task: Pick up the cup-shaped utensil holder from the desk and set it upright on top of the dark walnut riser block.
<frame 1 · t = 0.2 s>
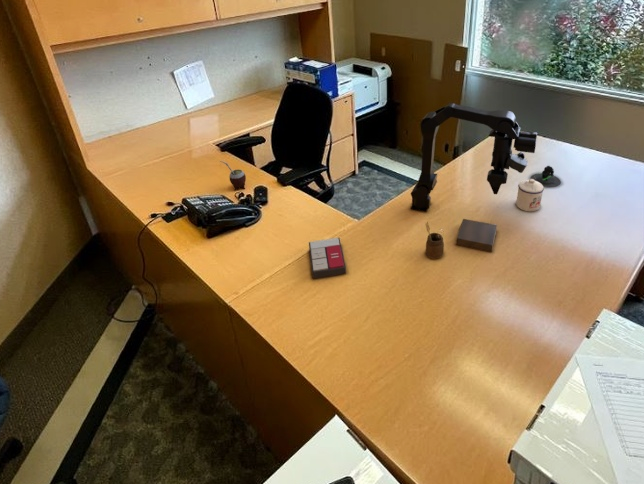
hand: (497, 187, 148), 15 cm above the table, tool pointing down, fingers open, 9 cm apart
teacup with lid: (529, 204, 163), on the table
dark grey hat: (545, 180, 178), on the table
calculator: (327, 261, 141), on the table
mate gourd: (238, 188, 189), on the table
utensil holder: (434, 253, 142), on the table
walnut riser: (476, 238, 147), on the table
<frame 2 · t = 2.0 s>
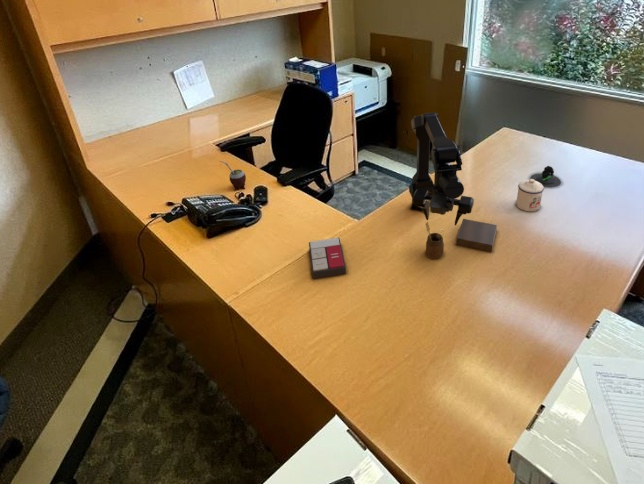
hand: (441, 222, 137), 12 cm above the table, tool pointing down, fingers open, 9 cm apart
nothing on the table moved.
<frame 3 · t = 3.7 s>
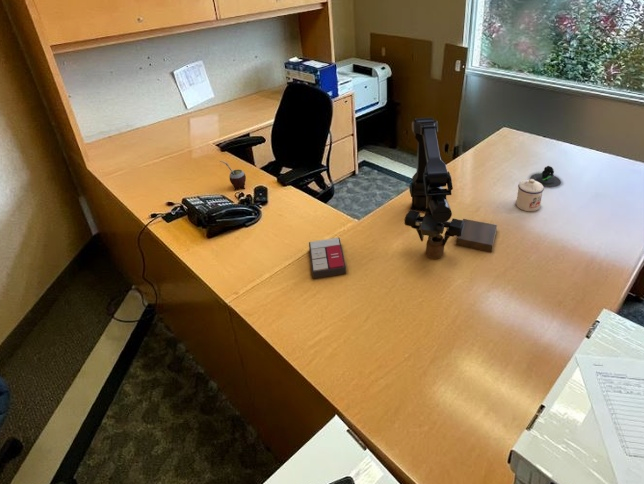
hand: (432, 243, 139), 5 cm above the table, tool pointing down, fingers closed on utensil holder, 7 cm apart
utensil holder: (434, 253, 141), on the table, touching gripper
everything else where it was.
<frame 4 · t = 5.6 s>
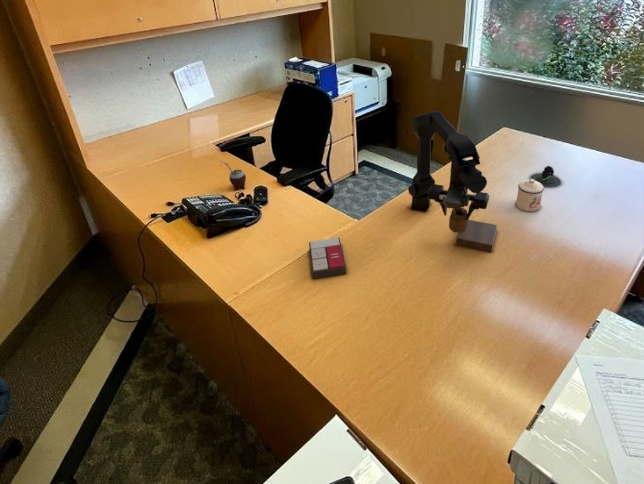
hand: (456, 217, 138), 12 cm above the table, tool pointing down, fingers closed on utensil holder, 7 cm apart
utensil holder: (457, 228, 140), point 8 cm above the table, touching gripper
everything else where it was.
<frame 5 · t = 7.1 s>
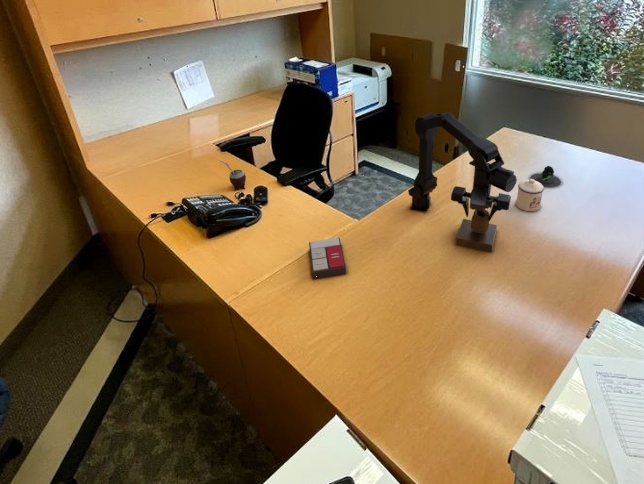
hand: (478, 218, 143), 9 cm above the table, tool pointing down, fingers closed on utensil holder, 7 cm apart
utensil holder: (478, 228, 145), point 4 cm above the table, touching gripper
everything else where it was.
when the fingers open (8 cm above the table, at t = 7.9 s): utensil holder stays where it is, resting on walnut riser.
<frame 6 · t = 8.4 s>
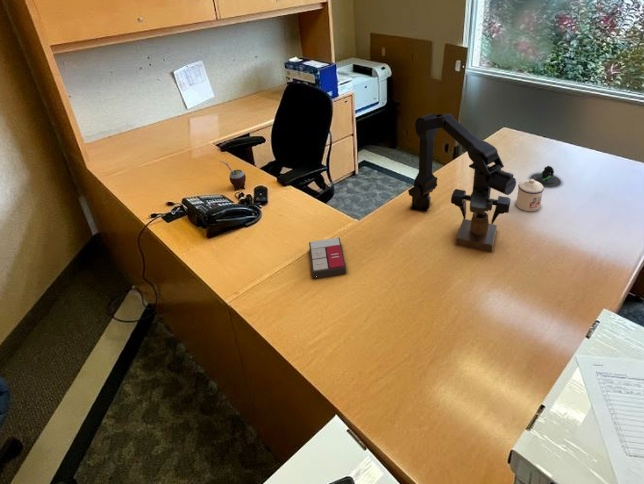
hand: (478, 220, 143), 8 cm above the table, tool pointing down, fingers open, 9 cm apart
utensil holder: (478, 231, 146), point 3 cm above the table, touching walnut riser
everything else where it was.
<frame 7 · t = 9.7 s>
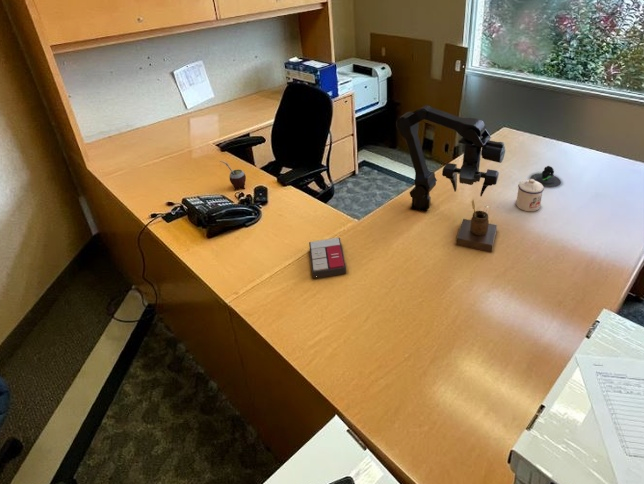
hand: (468, 193, 151), 12 cm above the table, tool pointing down, fingers open, 9 cm apart
nothing on the table moved.
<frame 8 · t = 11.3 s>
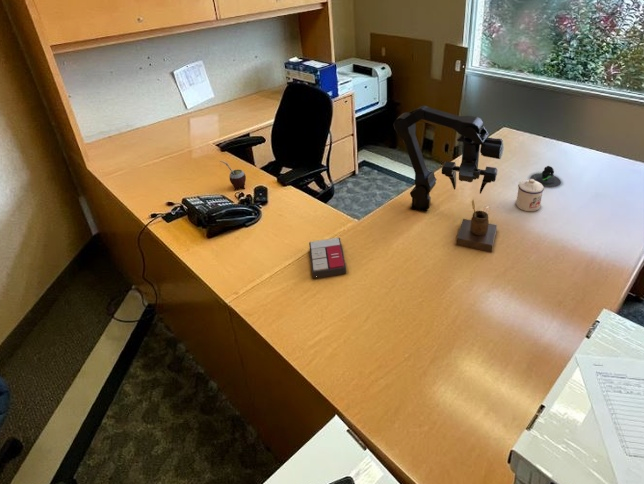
hand: (467, 191, 152), 12 cm above the table, tool pointing down, fingers open, 9 cm apart
nothing on the table moved.
at the end: utensil holder inside the target area on the walnut riser (0.6 cm from its centre), point 2.8 cm above the walnut riser's base; utensil holder tilted 0°; the gripper is holding nothing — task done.
